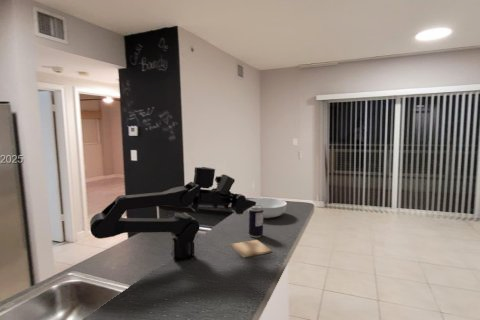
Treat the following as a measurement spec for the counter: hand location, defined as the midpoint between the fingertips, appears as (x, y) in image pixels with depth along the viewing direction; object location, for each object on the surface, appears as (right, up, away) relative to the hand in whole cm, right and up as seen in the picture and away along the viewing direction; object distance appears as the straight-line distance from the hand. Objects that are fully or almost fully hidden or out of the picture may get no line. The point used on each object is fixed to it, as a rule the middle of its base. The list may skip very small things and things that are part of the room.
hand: (249, 200), depth 108 cm
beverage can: (+3, -16, +11) cm, 19 cm away
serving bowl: (+9, -13, +39) cm, 42 cm away
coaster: (0, -17, -3) cm, 17 cm away
